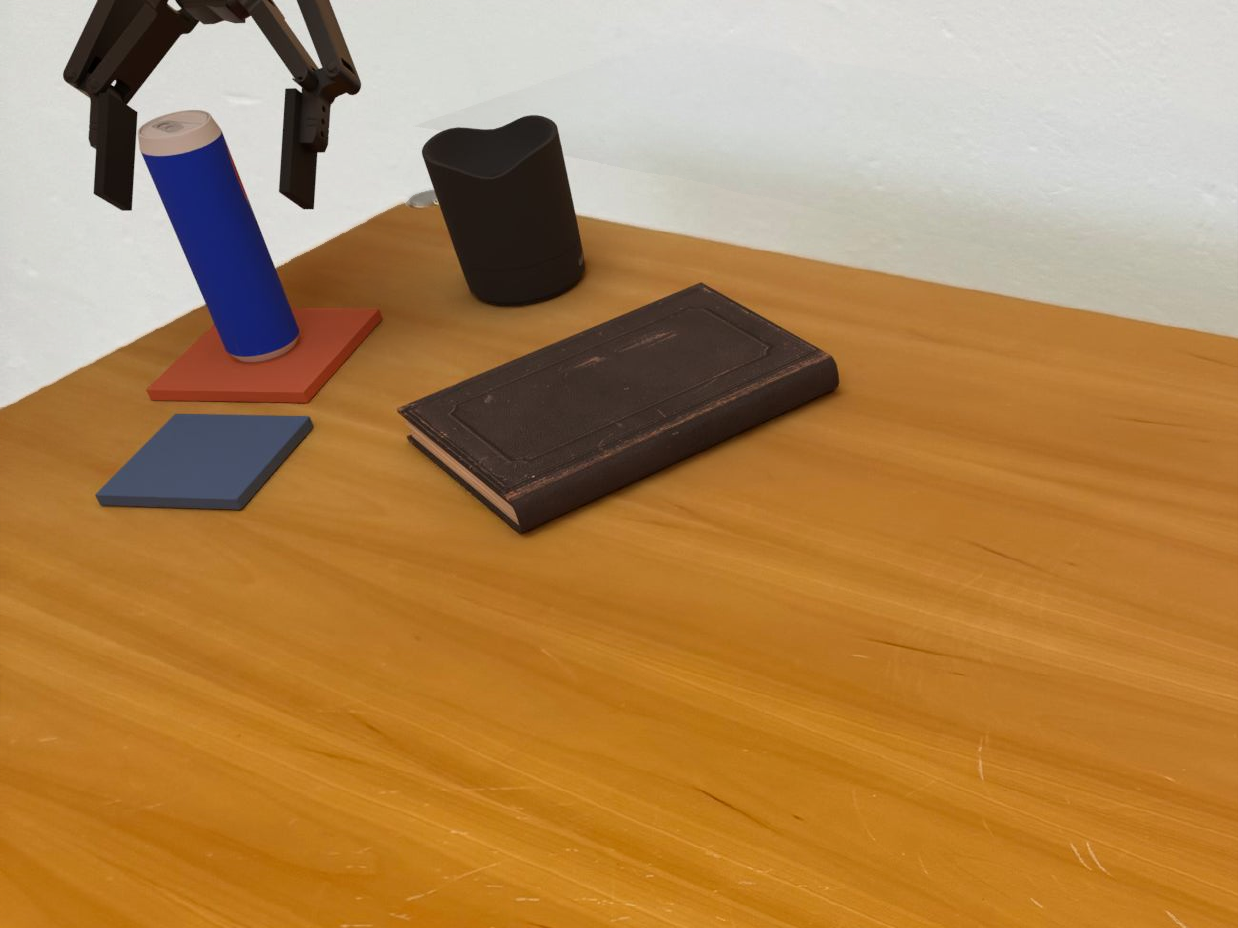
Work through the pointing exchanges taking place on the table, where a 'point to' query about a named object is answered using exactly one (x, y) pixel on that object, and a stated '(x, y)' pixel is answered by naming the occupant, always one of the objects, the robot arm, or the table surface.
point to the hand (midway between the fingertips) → (203, 202)
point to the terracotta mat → (269, 362)
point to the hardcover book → (615, 403)
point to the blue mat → (205, 461)
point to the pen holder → (508, 209)
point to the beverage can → (219, 234)
